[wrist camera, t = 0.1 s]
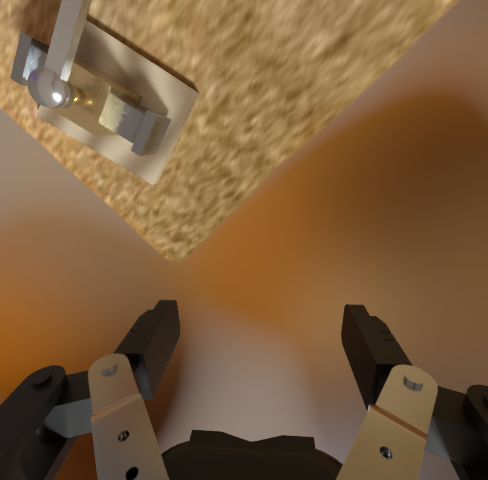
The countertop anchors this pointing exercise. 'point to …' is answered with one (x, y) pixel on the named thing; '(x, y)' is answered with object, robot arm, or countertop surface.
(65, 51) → the valve lever
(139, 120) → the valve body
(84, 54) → the valve board
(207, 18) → the countertop surface
